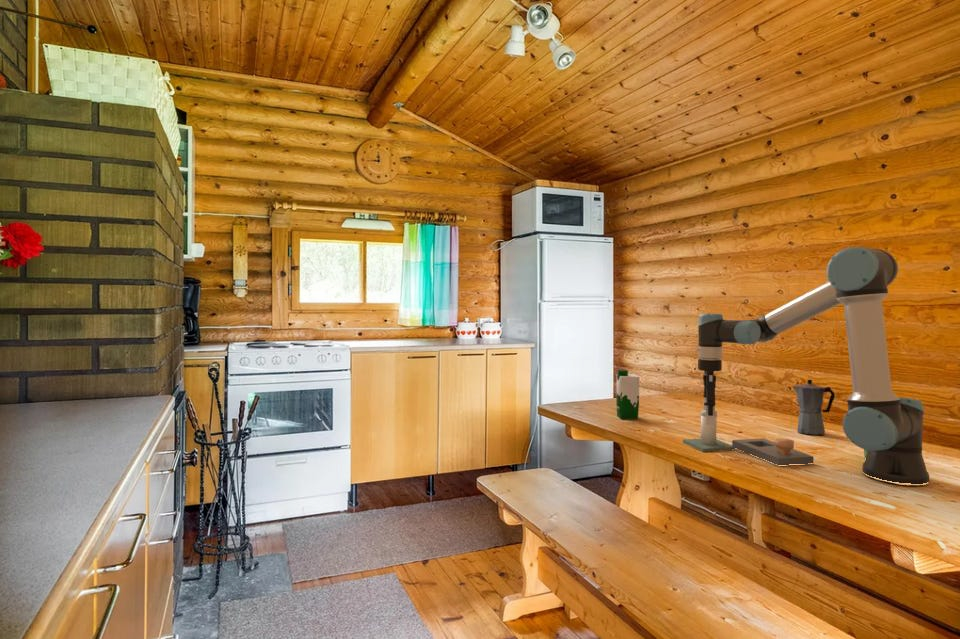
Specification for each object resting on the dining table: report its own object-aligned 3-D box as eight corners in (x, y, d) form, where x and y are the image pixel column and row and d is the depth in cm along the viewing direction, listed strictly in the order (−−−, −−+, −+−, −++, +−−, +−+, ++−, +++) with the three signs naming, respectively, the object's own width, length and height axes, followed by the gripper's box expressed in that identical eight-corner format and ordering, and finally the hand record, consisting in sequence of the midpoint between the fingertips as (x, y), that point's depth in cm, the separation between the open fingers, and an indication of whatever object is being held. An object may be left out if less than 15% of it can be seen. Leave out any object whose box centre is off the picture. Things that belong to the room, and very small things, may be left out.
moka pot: (797, 427, 217) (799, 376, 216) (840, 435, 204) (842, 381, 203) (784, 430, 212) (786, 378, 211) (828, 439, 199) (829, 383, 198)
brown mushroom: (797, 461, 171) (797, 442, 170) (782, 462, 170) (783, 442, 169) (785, 456, 176) (785, 438, 175) (771, 457, 175) (771, 438, 174)
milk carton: (614, 415, 239) (614, 369, 238) (635, 415, 239) (636, 369, 238) (619, 419, 230) (619, 371, 229) (641, 419, 230) (641, 371, 229)
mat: (735, 449, 185) (735, 446, 185) (702, 451, 183) (702, 448, 183) (713, 440, 197) (713, 437, 197) (682, 442, 195) (682, 439, 195)
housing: (813, 464, 169) (813, 456, 169) (778, 466, 167) (778, 458, 167) (763, 445, 190) (763, 438, 190) (732, 447, 188) (732, 440, 188)
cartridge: (715, 441, 191) (716, 410, 191) (716, 445, 187) (717, 413, 186) (700, 440, 193) (700, 409, 193) (700, 444, 188) (701, 412, 188)
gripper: (696, 354, 202) (695, 412, 202) (699, 362, 178) (698, 428, 179) (718, 355, 199) (717, 414, 200) (725, 363, 176) (723, 429, 176)
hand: (708, 420), depth 189 cm, fingers open, 13 cm apart
